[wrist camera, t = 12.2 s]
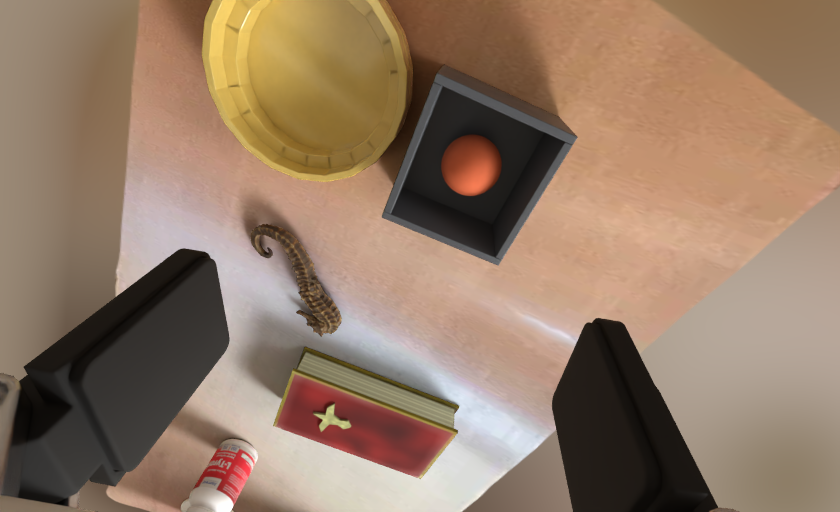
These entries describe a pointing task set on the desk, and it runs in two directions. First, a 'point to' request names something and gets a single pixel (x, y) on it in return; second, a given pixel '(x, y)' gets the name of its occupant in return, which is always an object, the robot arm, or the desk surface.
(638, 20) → the desk surface
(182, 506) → the panda figurine
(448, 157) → the toy ball
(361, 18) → the bowl
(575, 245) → the desk surface
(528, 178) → the bin
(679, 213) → the desk surface
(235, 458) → the pill bottle
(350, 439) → the hardcover book
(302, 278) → the seahorse
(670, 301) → the desk surface
